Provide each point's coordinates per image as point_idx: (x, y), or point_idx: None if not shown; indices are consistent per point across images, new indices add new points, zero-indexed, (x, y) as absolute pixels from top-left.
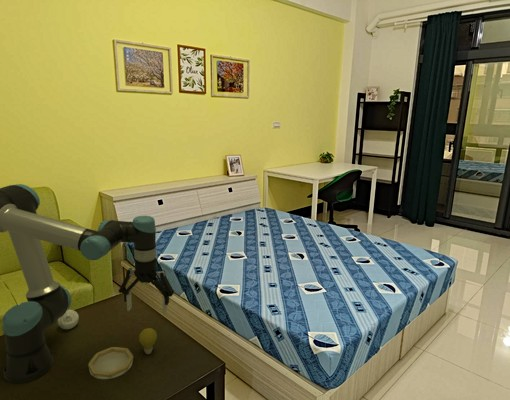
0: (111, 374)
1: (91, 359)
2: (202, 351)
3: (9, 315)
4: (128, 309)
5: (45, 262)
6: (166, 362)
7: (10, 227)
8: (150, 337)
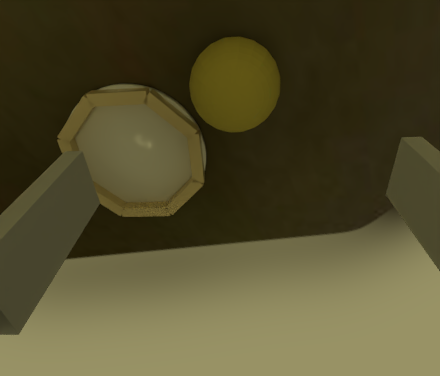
0: (173, 212)
1: None
2: None
3: None
4: (90, 211)
5: None
6: (325, 113)
7: None
8: (260, 122)
